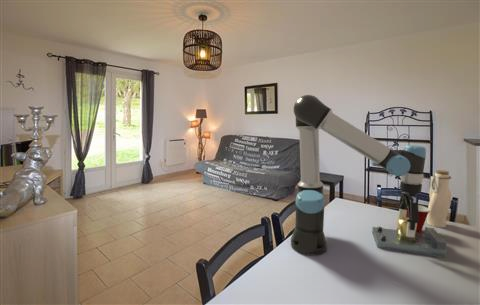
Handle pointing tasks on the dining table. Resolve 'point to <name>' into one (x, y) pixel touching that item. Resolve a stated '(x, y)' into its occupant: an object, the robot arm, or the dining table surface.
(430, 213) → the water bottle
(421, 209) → the plastic cup
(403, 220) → the golden knob
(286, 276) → the dining table surface
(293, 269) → the dining table surface
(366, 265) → the dining table surface
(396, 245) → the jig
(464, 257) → the dining table surface
